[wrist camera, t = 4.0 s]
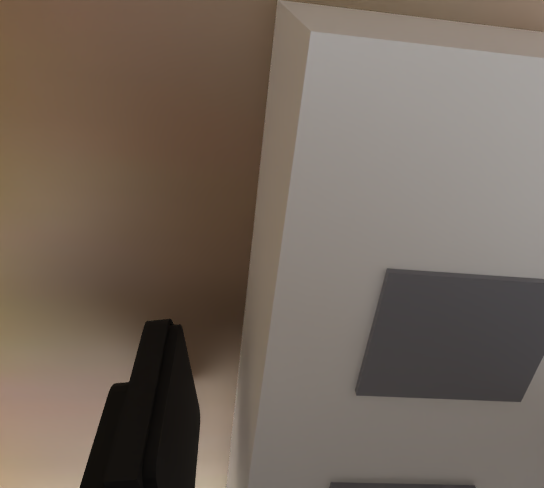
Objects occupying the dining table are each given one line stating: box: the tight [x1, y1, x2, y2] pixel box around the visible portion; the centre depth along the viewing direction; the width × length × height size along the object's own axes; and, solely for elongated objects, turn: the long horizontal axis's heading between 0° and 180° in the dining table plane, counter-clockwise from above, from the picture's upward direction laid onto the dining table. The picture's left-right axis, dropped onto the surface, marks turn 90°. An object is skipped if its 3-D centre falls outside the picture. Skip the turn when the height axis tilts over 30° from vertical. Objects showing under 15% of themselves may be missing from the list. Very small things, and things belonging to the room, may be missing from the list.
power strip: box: [226, 0, 544, 488], centre depth 10 cm, size 14×5×5 cm, turn 174°
